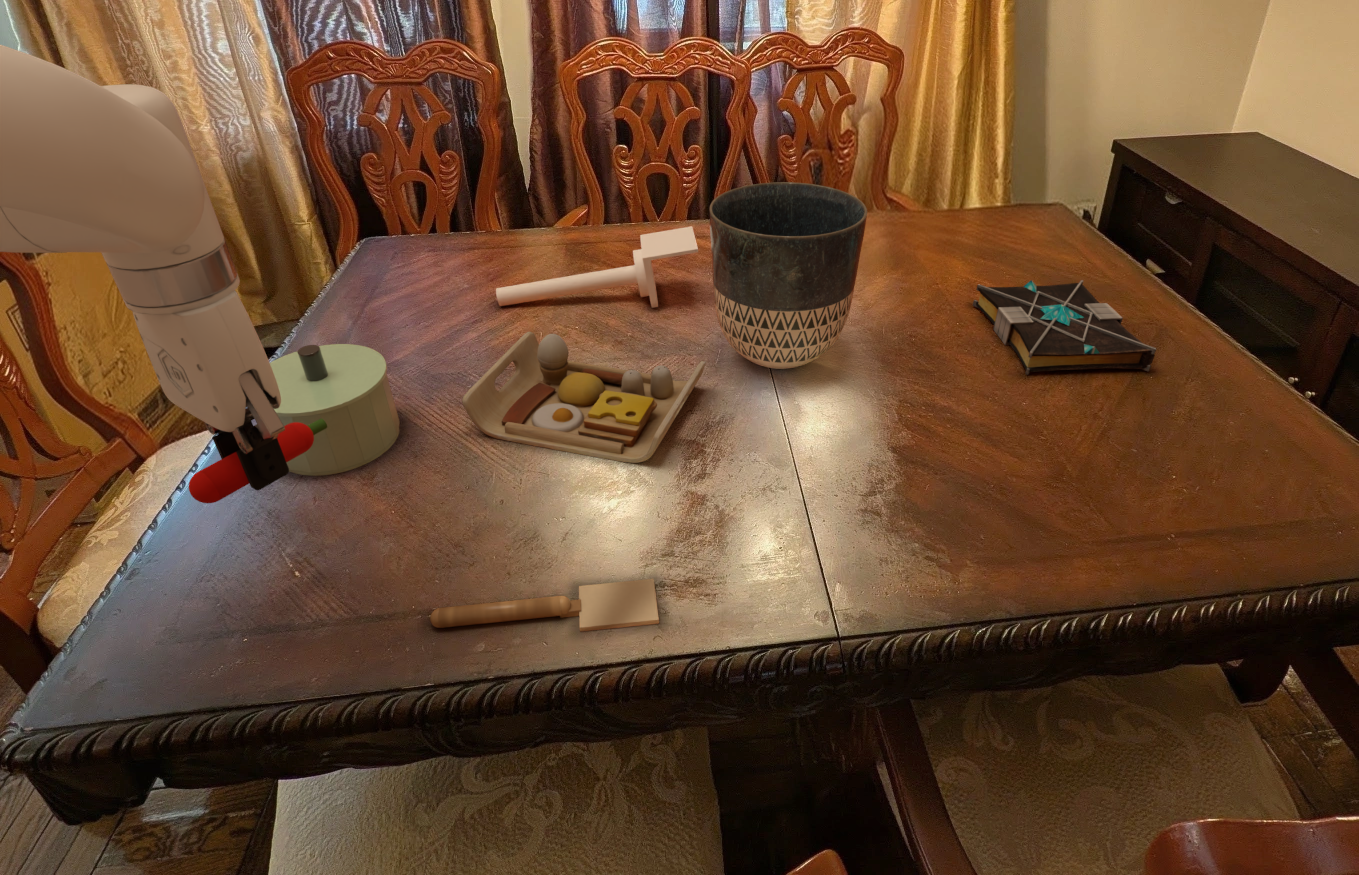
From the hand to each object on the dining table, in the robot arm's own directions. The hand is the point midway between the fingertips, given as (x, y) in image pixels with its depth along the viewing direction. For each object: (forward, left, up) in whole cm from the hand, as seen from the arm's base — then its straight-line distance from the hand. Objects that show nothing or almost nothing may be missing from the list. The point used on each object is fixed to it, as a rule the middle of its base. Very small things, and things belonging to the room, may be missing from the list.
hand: (258, 472), depth 68 cm
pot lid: (+18, +20, -6) cm, 27 cm away
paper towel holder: (+64, +18, -15) cm, 69 cm away
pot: (+18, +20, -15) cm, 31 cm away
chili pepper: (0, 0, 0) cm, 0 cm away
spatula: (+12, -21, -15) cm, 28 cm away
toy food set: (+40, -2, -15) cm, 42 cm away
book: (+92, -45, -15) cm, 103 cm away
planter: (+65, -15, -15) cm, 68 cm away
